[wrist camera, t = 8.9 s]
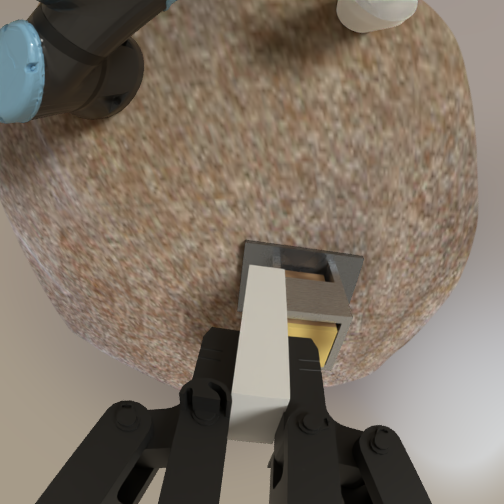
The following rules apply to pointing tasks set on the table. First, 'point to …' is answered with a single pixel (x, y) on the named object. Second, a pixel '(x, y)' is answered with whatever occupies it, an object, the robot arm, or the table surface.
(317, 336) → the block
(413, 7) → the cup
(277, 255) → the chute
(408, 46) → the table surface
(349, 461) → the robot arm
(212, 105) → the table surface
